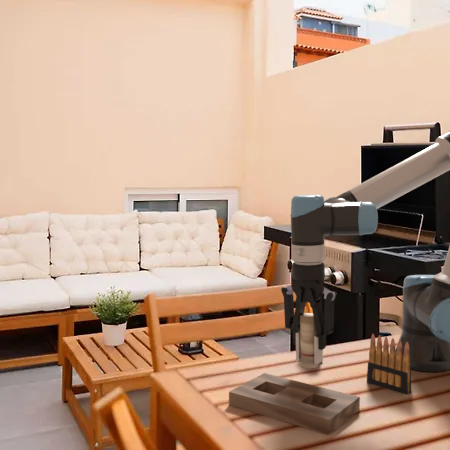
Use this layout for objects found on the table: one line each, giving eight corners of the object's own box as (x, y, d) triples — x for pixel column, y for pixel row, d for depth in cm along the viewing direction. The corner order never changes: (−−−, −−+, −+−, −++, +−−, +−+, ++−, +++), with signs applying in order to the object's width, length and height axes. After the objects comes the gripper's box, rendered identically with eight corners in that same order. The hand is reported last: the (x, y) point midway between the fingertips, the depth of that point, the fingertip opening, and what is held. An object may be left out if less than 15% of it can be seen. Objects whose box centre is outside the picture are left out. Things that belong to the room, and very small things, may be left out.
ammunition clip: (366, 382, 143) (367, 333, 142) (370, 380, 145) (371, 331, 143) (407, 395, 136) (408, 343, 134) (411, 392, 137) (413, 341, 136)
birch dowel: (305, 361, 144) (305, 312, 143) (321, 364, 142) (321, 314, 140) (297, 366, 141) (296, 316, 140) (313, 369, 138) (312, 318, 137)
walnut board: (264, 385, 142) (264, 373, 142) (359, 410, 128) (359, 396, 127) (229, 404, 131) (228, 391, 130) (328, 434, 116) (329, 420, 116)
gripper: (267, 261, 141) (269, 358, 143) (334, 268, 130) (335, 372, 133) (284, 256, 147) (286, 349, 149) (349, 262, 136) (350, 362, 139)
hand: (309, 360), depth 141 cm, fingers closed on birch dowel, 4 cm apart
